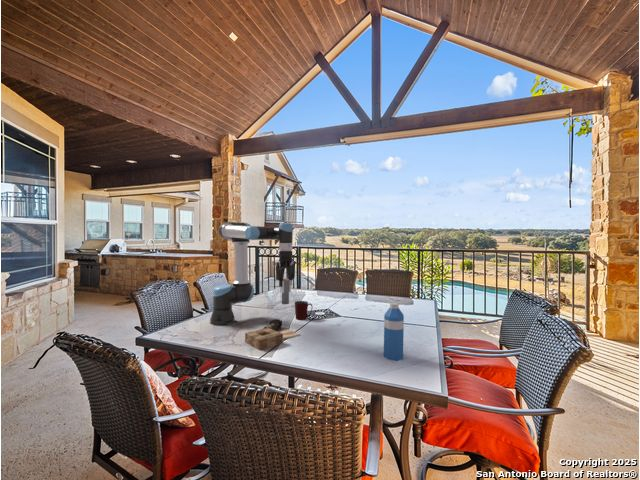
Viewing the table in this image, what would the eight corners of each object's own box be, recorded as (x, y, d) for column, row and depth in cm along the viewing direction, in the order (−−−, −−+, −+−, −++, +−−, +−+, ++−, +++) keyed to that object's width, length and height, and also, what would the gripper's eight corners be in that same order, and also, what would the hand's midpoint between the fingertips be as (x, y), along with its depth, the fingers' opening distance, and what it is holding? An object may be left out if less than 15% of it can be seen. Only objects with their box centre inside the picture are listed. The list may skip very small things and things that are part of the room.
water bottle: (380, 352, 145) (381, 301, 145) (399, 352, 146) (400, 301, 145) (386, 360, 136) (387, 306, 135) (406, 360, 137) (407, 305, 136)
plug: (280, 303, 169) (280, 278, 169) (286, 302, 172) (286, 278, 172) (284, 304, 166) (284, 279, 166) (290, 303, 169) (290, 278, 169)
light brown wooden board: (270, 334, 170) (270, 333, 170) (287, 330, 178) (287, 329, 178) (282, 340, 161) (282, 338, 161) (300, 335, 169) (300, 334, 169)
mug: (313, 317, 206) (313, 301, 206) (311, 320, 198) (311, 304, 197) (296, 316, 208) (296, 300, 208) (293, 320, 199) (293, 303, 199)
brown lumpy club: (270, 335, 166) (269, 325, 166) (259, 334, 168) (259, 324, 169) (284, 327, 183) (283, 317, 183) (274, 326, 185) (274, 317, 185)
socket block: (245, 342, 157) (245, 333, 157) (267, 336, 166) (267, 327, 166) (259, 350, 147) (259, 340, 146) (282, 343, 156) (282, 333, 156)
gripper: (277, 251, 160) (276, 294, 161) (301, 250, 172) (301, 290, 172) (269, 250, 166) (268, 292, 166) (293, 249, 177) (293, 289, 178)
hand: (285, 291), depth 169 cm, fingers closed on plug, 4 cm apart
